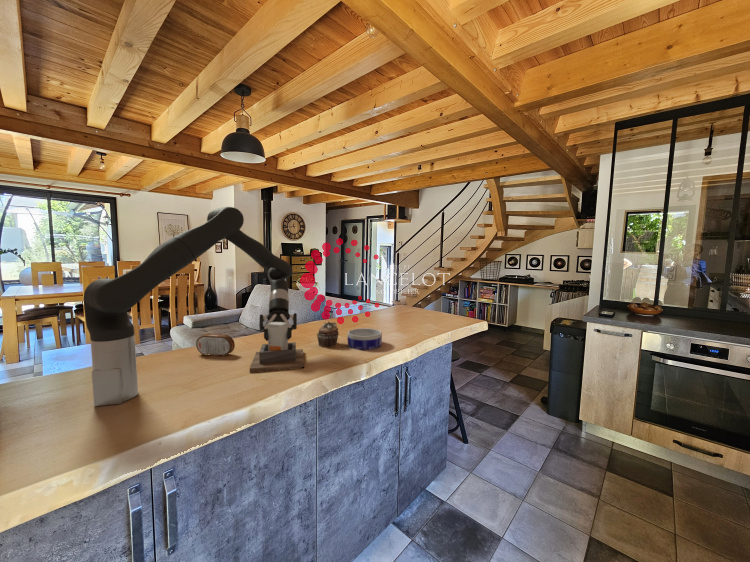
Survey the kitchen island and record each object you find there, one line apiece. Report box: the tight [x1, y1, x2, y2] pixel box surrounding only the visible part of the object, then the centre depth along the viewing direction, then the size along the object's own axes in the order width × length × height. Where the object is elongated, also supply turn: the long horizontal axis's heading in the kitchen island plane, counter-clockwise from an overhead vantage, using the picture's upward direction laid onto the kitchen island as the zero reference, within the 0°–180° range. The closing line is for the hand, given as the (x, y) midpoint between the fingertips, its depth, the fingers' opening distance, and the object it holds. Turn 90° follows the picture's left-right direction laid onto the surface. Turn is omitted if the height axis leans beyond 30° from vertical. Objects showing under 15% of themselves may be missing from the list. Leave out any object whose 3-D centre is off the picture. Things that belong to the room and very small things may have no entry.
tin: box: [195, 333, 236, 356], centre depth 122 cm, size 15×3×8 cm, turn 84°
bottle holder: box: [249, 341, 305, 373], centre depth 115 cm, size 18×18×6 cm
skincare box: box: [267, 322, 289, 351], centre depth 115 cm, size 6×4×12 cm
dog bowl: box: [346, 327, 383, 351], centre depth 137 cm, size 15×15×6 cm
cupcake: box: [316, 321, 340, 348], centre depth 137 cm, size 10×10×10 cm
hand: (277, 339), depth 113 cm, fingers closed on skincare box, 7 cm apart
